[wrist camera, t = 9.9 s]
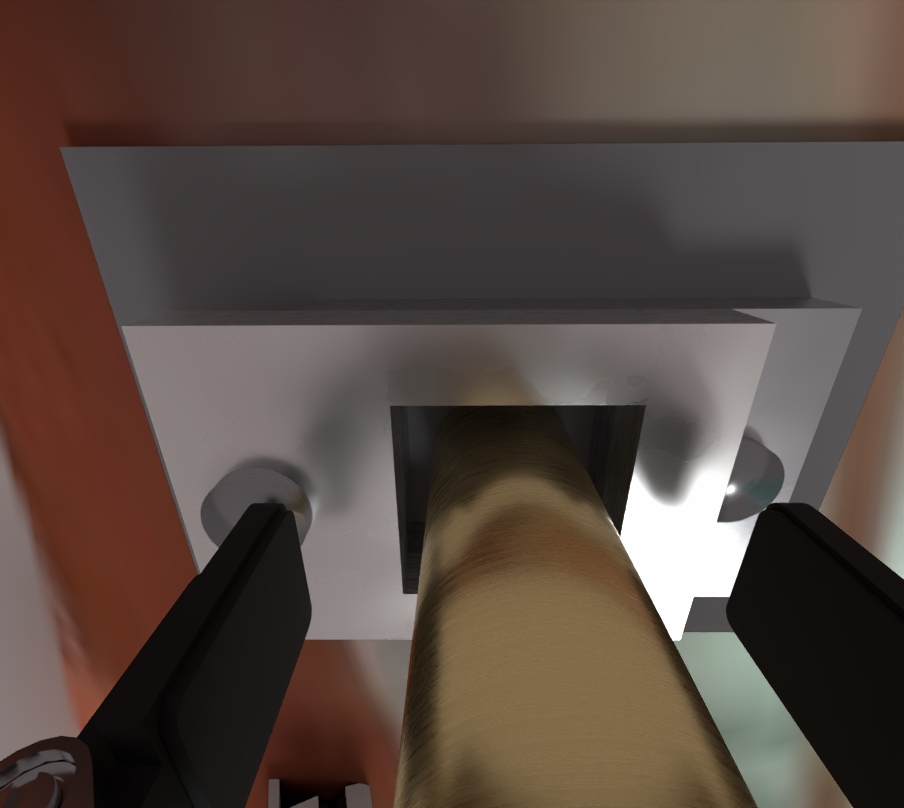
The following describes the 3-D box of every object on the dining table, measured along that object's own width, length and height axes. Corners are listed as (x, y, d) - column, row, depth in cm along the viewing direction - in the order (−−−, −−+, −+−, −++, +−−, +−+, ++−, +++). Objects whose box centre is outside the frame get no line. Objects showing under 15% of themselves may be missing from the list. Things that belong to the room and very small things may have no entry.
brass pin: (573, 387, 12) (934, 914, 3) (559, 503, 14) (764, 1081, 4) (432, 387, 12) (349, 899, 3) (435, 502, 14) (386, 1070, 5)
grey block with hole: (811, 297, 11) (958, 329, 8) (724, 561, 15) (800, 656, 11) (203, 300, 11) (101, 332, 8) (264, 561, 15) (212, 655, 12)
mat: (949, 144, 10) (973, 140, 10) (758, 620, 17) (767, 632, 16) (76, 149, 10) (59, 147, 10) (223, 620, 17) (216, 631, 16)
